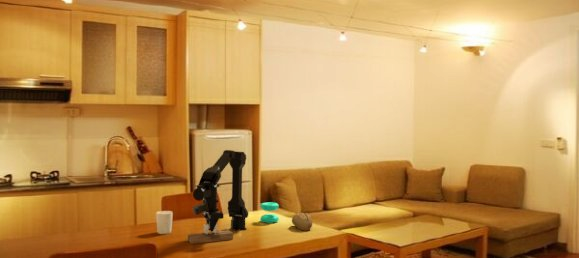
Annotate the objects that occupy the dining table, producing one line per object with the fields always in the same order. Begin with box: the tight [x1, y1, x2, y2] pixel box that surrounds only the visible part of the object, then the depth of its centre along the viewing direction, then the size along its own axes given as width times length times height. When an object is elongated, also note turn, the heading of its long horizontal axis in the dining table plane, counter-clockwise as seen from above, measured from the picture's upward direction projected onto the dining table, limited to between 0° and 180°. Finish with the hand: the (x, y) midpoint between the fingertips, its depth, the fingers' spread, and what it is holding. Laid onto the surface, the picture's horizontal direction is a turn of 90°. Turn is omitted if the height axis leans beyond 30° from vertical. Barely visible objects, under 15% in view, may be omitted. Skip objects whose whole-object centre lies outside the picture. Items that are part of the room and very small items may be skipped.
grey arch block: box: [203, 222, 219, 235], centre depth 236 cm, size 2×6×6 cm, turn 117°
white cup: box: [155, 210, 174, 235], centre depth 251 cm, size 8×8×10 cm
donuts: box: [260, 201, 280, 224], centre depth 278 cm, size 10×10×10 cm
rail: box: [187, 230, 234, 245], centre depth 236 cm, size 6×20×3 cm, turn 117°
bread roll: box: [291, 212, 313, 232], centre depth 263 cm, size 10×15×8 cm, turn 23°
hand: (210, 230), depth 236 cm, fingers closed on grey arch block, 2 cm apart
